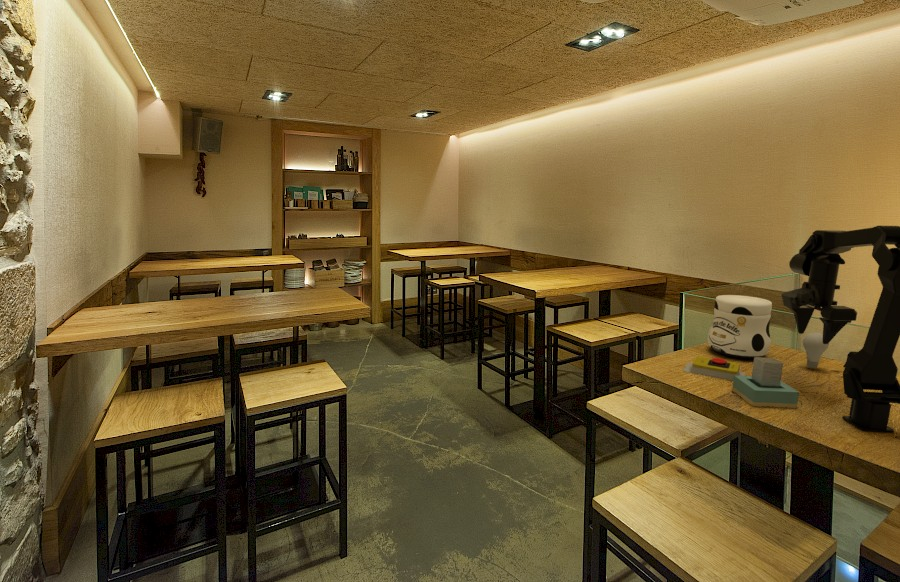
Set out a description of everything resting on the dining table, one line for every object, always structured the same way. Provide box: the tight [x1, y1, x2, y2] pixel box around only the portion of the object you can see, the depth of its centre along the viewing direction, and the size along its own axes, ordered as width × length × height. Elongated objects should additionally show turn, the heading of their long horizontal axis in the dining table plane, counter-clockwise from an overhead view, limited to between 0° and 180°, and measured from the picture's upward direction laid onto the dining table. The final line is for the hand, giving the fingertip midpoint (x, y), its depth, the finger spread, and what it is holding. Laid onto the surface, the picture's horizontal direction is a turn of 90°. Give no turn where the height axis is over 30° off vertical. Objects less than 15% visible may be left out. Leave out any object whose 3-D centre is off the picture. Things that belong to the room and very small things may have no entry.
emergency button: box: [682, 355, 746, 382], centre depth 138 cm, size 9×4×15 cm
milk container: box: [707, 294, 773, 359], centre depth 154 cm, size 17×17×18 cm
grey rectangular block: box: [751, 356, 784, 388], centre depth 119 cm, size 4×4×9 cm
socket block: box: [731, 375, 800, 409], centre depth 119 cm, size 10×10×4 cm
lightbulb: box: [802, 332, 830, 370], centre depth 141 cm, size 6×6×11 cm
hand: (812, 338), depth 125 cm, fingers open, 9 cm apart
